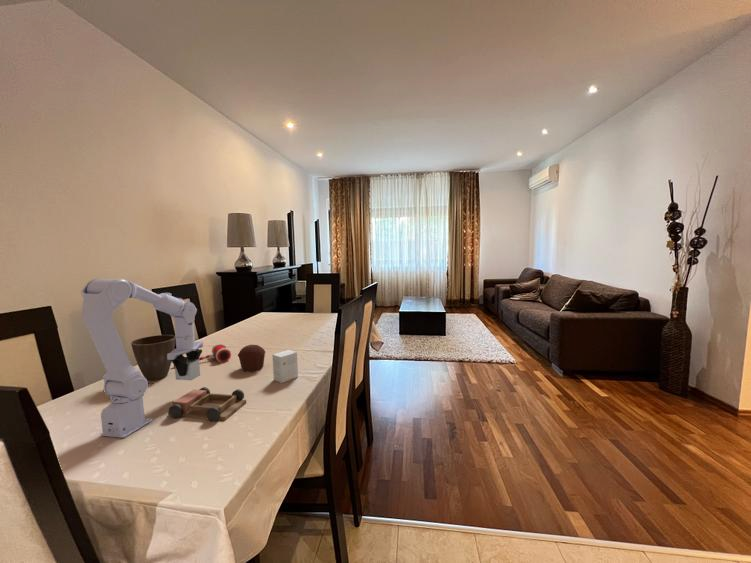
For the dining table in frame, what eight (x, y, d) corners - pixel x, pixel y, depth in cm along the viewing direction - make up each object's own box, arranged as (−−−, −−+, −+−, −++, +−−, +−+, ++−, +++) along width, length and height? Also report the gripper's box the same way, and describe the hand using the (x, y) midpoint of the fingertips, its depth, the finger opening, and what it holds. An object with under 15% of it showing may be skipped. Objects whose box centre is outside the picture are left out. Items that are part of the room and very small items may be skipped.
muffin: (272, 365, 142) (270, 344, 141) (252, 374, 133) (250, 351, 132) (253, 362, 148) (252, 340, 147) (232, 370, 138) (231, 347, 137)
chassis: (222, 422, 95) (222, 409, 95) (165, 417, 99) (163, 405, 99) (248, 401, 109) (247, 389, 108) (196, 397, 112) (195, 386, 112)
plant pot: (161, 368, 141) (158, 333, 139) (186, 372, 136) (183, 336, 134) (125, 382, 127) (121, 342, 125) (152, 386, 122) (148, 346, 120)
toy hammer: (175, 372, 137) (173, 358, 136) (172, 365, 146) (171, 351, 146) (231, 361, 151) (230, 347, 150) (226, 354, 160) (225, 342, 159)
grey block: (191, 380, 111) (189, 363, 110) (175, 379, 112) (174, 362, 111) (200, 375, 115) (199, 359, 114) (185, 374, 116) (184, 358, 115)
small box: (290, 373, 133) (289, 349, 132) (298, 377, 129) (297, 351, 128) (273, 380, 127) (271, 354, 126) (281, 383, 123) (280, 357, 122)
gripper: (179, 341, 104) (182, 381, 105) (209, 330, 118) (211, 366, 119) (160, 340, 105) (163, 380, 106) (192, 330, 119) (195, 365, 121)
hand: (187, 372), depth 113 cm, fingers closed on grey block, 4 cm apart
